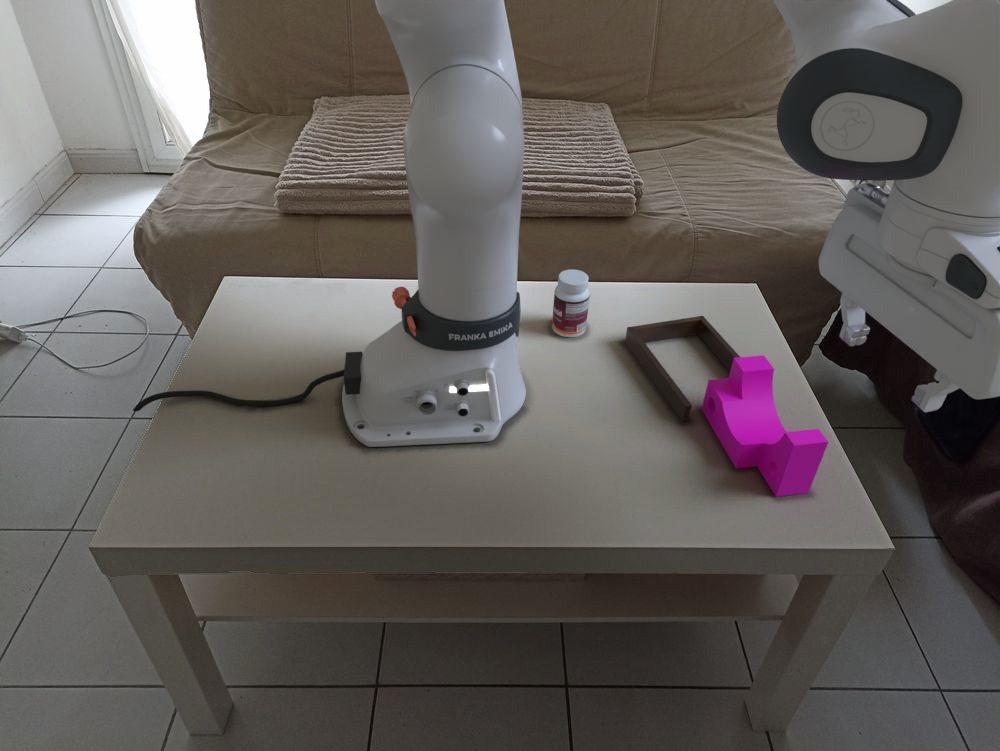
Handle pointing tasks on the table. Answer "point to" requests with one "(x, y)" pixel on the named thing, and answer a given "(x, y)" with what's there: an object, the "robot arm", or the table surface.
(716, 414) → the toy block
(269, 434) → the table surface
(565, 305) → the pill bottle
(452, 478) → the table surface
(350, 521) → the table surface
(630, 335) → the bay
